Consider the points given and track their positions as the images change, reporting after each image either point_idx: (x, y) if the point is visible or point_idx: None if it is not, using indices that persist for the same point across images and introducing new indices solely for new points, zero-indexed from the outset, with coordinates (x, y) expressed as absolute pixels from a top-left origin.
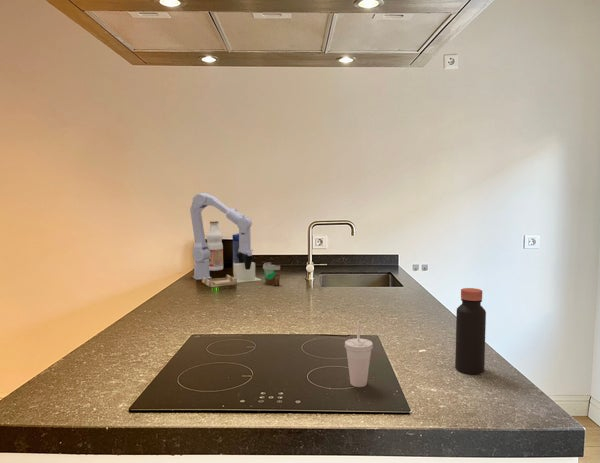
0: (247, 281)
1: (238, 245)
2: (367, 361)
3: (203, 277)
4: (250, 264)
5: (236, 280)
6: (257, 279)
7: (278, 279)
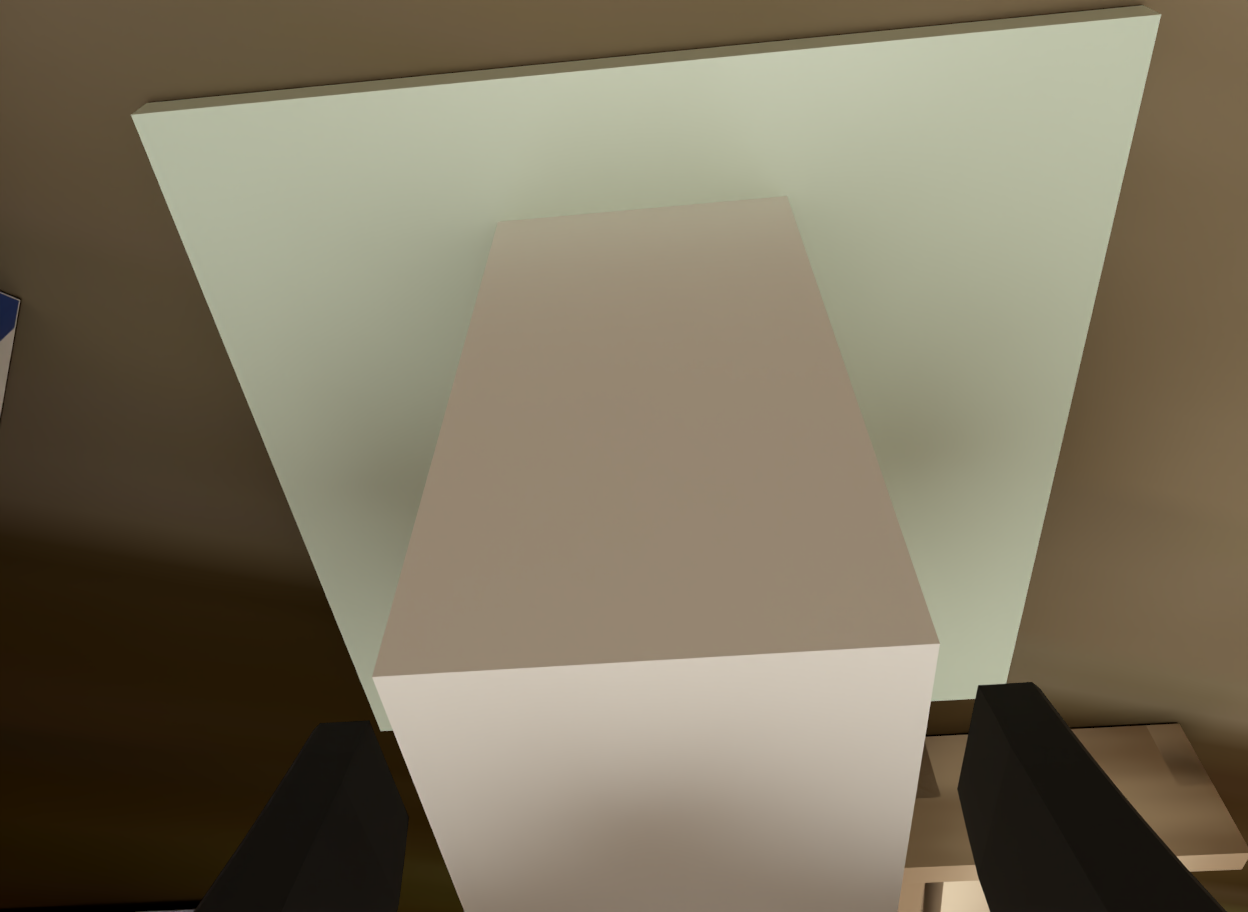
0: (1045, 503)
1: None
2: None
3: None
4: (1183, 885)
5: (1233, 824)
6: (959, 162)
7: None
